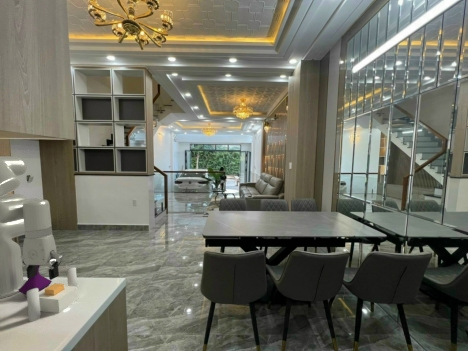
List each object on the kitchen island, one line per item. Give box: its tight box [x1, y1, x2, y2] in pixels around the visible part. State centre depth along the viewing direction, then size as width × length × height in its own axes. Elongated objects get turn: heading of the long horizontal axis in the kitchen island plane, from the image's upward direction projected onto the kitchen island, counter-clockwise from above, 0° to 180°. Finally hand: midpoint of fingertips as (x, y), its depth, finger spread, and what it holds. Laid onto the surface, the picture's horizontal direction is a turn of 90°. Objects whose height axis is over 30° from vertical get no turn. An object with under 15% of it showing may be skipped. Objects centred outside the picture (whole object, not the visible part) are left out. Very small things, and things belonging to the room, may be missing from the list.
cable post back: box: [66, 266, 78, 287], centre depth 90 cm, size 3×3×10 cm
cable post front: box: [26, 288, 42, 322], centre depth 75 cm, size 3×3×10 cm
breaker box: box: [39, 284, 79, 314], centre depth 83 cm, size 12×8×5 cm, turn 81°
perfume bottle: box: [18, 265, 53, 297], centre depth 90 cm, size 8×8×18 cm
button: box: [45, 282, 65, 296], centre depth 83 cm, size 4×4×4 cm
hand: (43, 277), depth 83 cm, fingers open, 9 cm apart
